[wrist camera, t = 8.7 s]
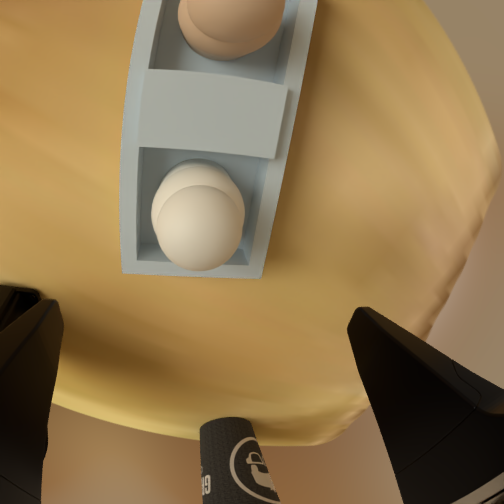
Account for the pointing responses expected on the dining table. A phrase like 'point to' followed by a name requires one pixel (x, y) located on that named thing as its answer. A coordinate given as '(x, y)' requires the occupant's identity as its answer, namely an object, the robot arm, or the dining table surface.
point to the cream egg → (198, 215)
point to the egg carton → (208, 129)
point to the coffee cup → (233, 464)
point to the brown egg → (229, 26)
